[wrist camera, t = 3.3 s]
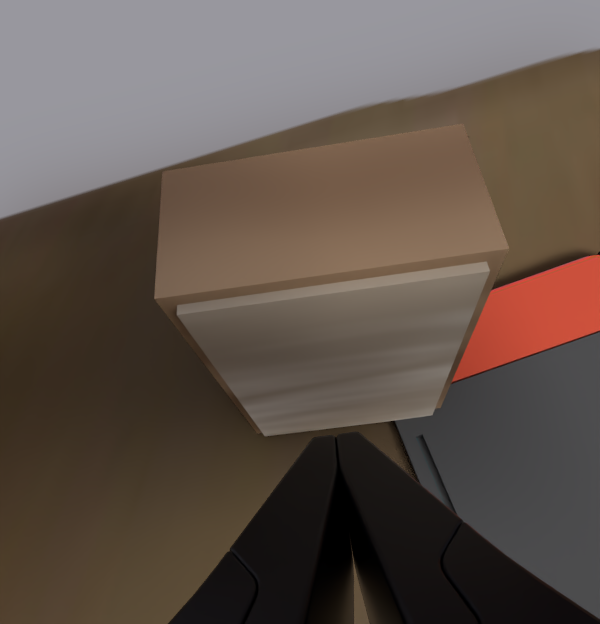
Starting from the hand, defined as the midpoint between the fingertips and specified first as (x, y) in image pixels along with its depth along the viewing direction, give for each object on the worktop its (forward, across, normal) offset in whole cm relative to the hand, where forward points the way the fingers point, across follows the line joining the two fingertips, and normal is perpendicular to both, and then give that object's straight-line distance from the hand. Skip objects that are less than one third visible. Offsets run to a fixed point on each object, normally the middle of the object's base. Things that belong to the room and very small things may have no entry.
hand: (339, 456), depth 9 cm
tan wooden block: (+8, 0, +2) cm, 8 cm away
